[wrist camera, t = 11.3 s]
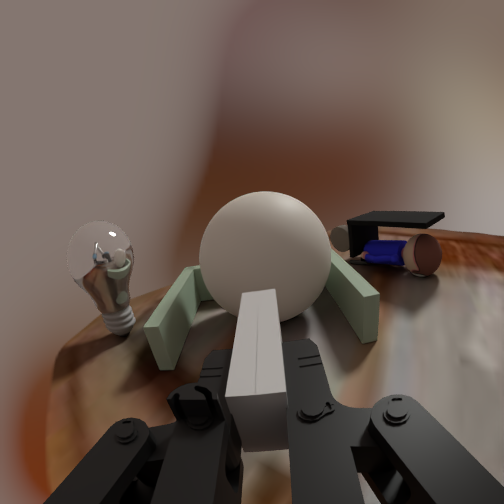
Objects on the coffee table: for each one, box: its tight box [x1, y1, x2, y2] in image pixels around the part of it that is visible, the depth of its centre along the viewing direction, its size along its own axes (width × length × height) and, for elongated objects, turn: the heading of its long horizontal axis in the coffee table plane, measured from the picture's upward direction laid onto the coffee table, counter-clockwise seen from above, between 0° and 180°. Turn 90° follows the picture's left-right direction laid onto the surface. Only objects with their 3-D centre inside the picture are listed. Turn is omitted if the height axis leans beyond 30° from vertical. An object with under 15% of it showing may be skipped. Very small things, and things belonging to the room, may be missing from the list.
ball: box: [199, 192, 331, 322], centre depth 24 cm, size 12×12×12 cm
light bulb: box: [67, 221, 135, 337], centre depth 24 cm, size 7×7×12 cm
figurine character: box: [330, 211, 445, 277], centre depth 31 cm, size 7×8×15 cm
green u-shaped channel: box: [143, 249, 380, 370], centre depth 25 cm, size 14×17×4 cm
